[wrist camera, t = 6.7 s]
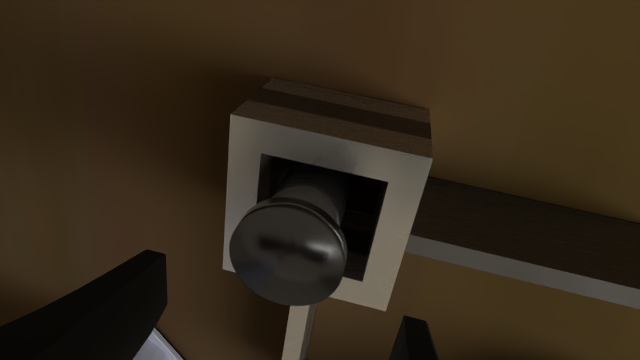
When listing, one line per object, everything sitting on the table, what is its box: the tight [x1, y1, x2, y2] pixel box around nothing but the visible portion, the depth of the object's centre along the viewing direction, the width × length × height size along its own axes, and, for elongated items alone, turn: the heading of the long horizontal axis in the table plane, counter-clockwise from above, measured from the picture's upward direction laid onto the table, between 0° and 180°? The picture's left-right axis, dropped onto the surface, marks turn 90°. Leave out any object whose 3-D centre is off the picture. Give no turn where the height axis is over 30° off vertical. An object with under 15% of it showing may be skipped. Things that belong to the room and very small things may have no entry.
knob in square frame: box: [223, 78, 640, 360], centre depth 20 cm, size 18×18×5 cm
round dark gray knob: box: [229, 161, 355, 306], centre depth 17 cm, size 4×4×8 cm
